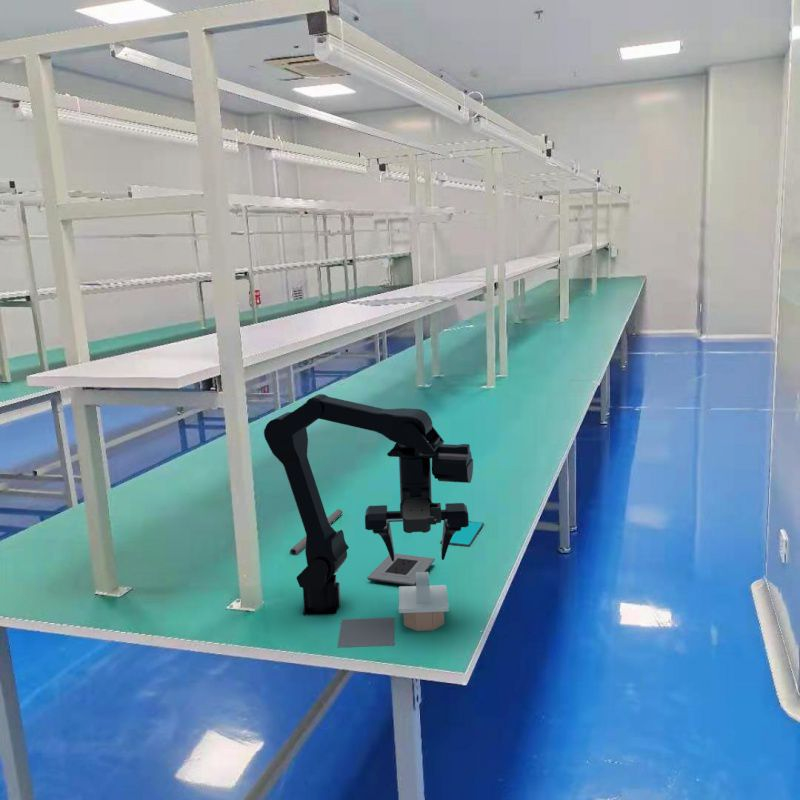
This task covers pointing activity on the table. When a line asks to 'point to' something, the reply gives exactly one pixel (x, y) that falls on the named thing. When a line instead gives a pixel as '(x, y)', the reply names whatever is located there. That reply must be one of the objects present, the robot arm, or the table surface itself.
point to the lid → (423, 596)
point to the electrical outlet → (400, 569)
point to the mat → (366, 632)
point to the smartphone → (466, 534)
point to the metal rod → (302, 543)
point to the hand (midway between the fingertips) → (417, 559)
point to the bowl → (423, 620)
